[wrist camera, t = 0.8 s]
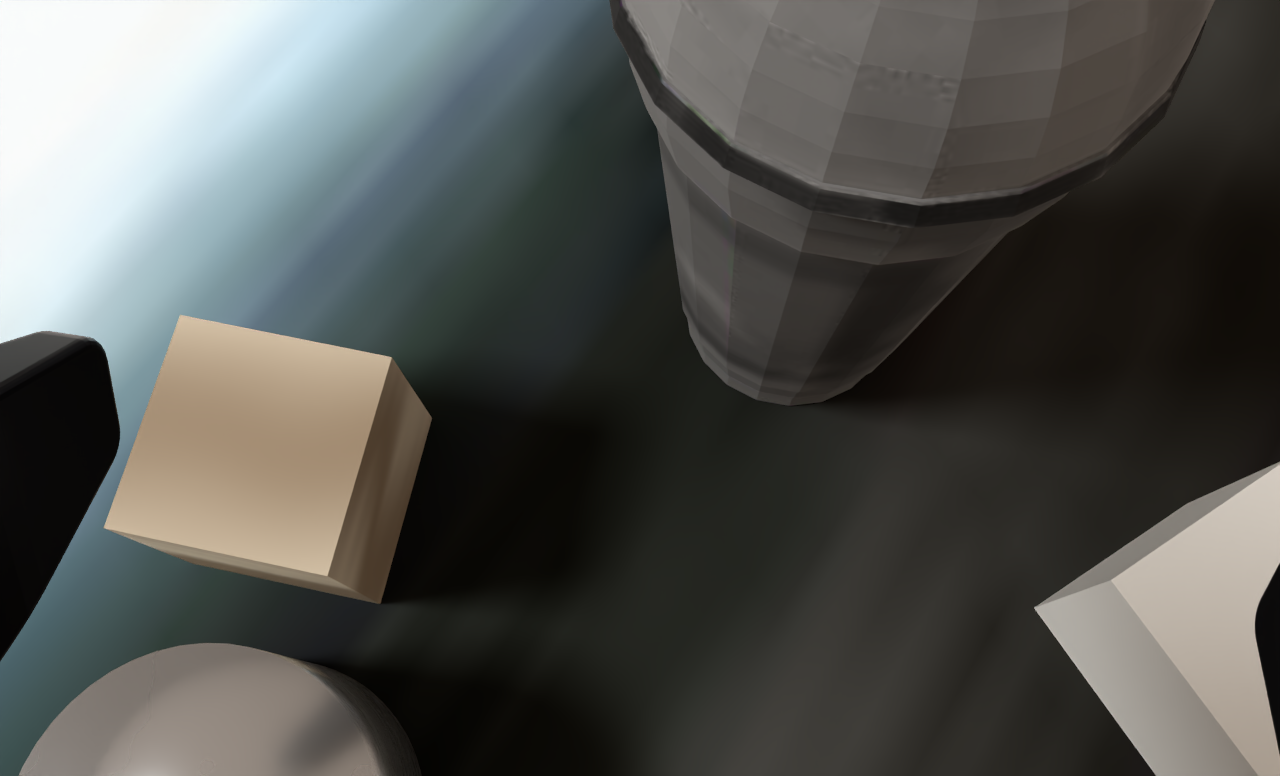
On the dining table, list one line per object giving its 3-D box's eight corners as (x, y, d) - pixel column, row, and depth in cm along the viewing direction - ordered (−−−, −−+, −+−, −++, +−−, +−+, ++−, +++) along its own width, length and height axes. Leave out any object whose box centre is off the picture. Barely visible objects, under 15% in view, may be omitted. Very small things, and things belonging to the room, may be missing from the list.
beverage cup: (947, 163, 26) (1818, -1532, 7) (965, 474, 23) (2359, -722, 4) (628, 155, 26) (574, -1534, 7) (616, 464, 24) (478, -745, 4)
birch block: (380, 604, 23) (327, 576, 19) (193, 564, 23) (104, 528, 19) (432, 418, 24) (392, 357, 20) (253, 382, 24) (180, 314, 20)
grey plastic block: (1317, 672, 22) (1457, 656, 18) (1162, 786, 22) (1272, 794, 18) (1185, 504, 23) (1290, 457, 19) (1032, 608, 23) (1110, 580, 19)
